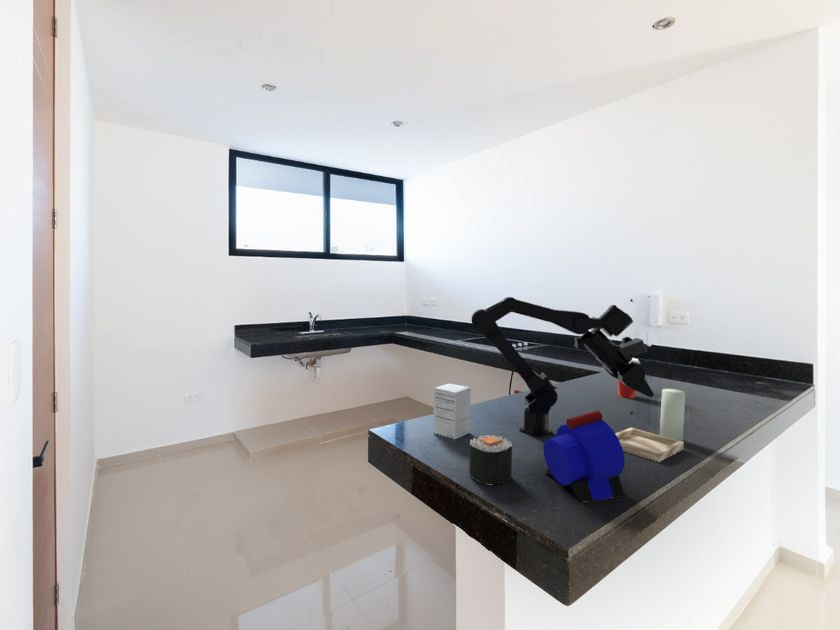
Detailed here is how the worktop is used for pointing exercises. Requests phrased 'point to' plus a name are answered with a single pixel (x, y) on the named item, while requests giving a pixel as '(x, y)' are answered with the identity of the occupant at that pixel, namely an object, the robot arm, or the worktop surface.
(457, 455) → the worktop surface
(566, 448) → the alarm clock
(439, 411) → the supplement box
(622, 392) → the paper cup
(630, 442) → the birch tray
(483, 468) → the sushi
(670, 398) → the sage post
